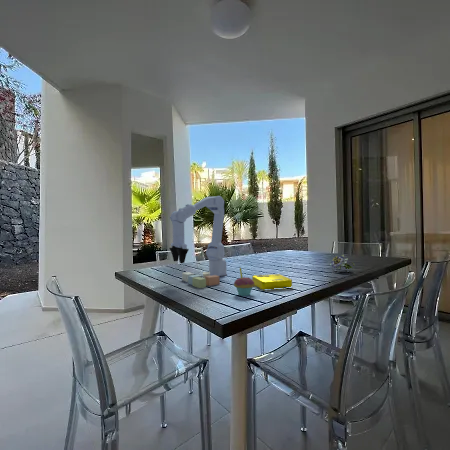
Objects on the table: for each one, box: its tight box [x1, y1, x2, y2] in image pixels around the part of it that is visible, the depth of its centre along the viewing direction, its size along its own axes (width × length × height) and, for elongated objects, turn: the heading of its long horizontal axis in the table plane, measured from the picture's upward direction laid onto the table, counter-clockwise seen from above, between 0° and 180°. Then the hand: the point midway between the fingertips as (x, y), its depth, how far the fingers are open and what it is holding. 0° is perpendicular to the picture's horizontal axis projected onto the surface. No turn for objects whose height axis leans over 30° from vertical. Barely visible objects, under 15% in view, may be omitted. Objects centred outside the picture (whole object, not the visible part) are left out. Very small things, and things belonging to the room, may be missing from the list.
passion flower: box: [329, 254, 355, 270], centre depth 175 cm, size 11×11×12 cm
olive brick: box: [192, 277, 207, 289], centre depth 138 cm, size 6×4×4 cm, turn 39°
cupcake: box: [233, 267, 256, 297], centre depth 123 cm, size 9×8×12 cm
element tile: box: [251, 273, 293, 290], centre depth 138 cm, size 15×15×5 cm
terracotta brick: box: [205, 275, 221, 287], centre depth 142 cm, size 6×4×4 cm, turn 124°
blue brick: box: [187, 274, 203, 286], centre depth 144 cm, size 6×4×4 cm, turn 134°
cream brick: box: [202, 271, 210, 278], centre depth 151 cm, size 6×4×4 cm, turn 4°
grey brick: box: [181, 271, 195, 283], centre depth 150 cm, size 6×4×4 cm, turn 34°
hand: (178, 262), depth 147 cm, fingers open, 7 cm apart
